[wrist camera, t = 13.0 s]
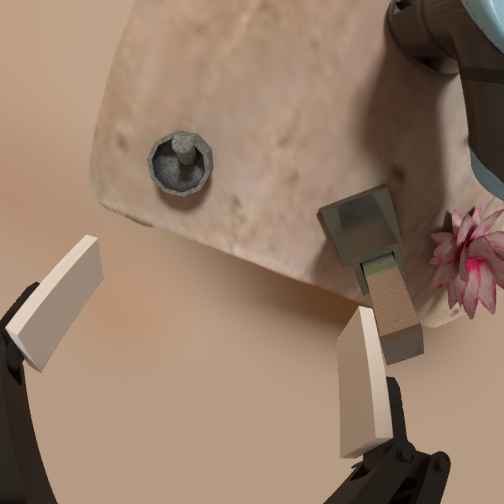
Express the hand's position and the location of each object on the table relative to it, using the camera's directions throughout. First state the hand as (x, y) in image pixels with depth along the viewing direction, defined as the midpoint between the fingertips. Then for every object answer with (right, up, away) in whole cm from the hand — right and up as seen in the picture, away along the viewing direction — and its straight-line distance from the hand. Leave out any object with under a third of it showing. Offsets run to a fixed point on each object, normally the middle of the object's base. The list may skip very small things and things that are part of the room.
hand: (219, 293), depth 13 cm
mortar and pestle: (-8, +19, +31) cm, 37 cm away
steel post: (+20, +3, +29) cm, 35 cm away
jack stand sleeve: (+21, +7, +34) cm, 41 cm away
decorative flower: (+43, +5, +33) cm, 54 cm away
